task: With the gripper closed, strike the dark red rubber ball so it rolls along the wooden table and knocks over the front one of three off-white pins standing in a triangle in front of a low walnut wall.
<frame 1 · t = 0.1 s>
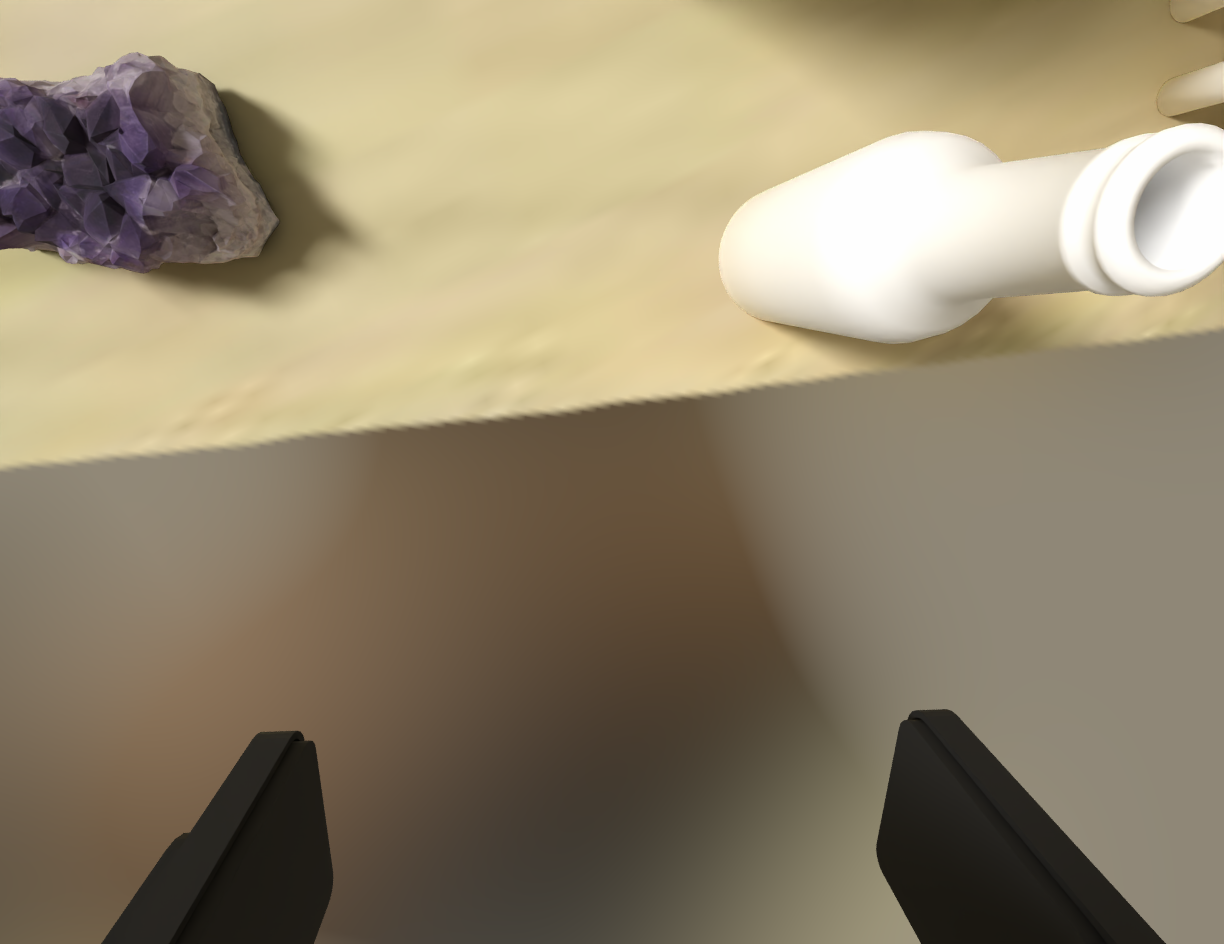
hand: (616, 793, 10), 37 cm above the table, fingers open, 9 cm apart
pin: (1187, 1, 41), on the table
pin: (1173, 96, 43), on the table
geode: (119, 186, 40), on the table
alcohol: (775, 256, 44), on the table
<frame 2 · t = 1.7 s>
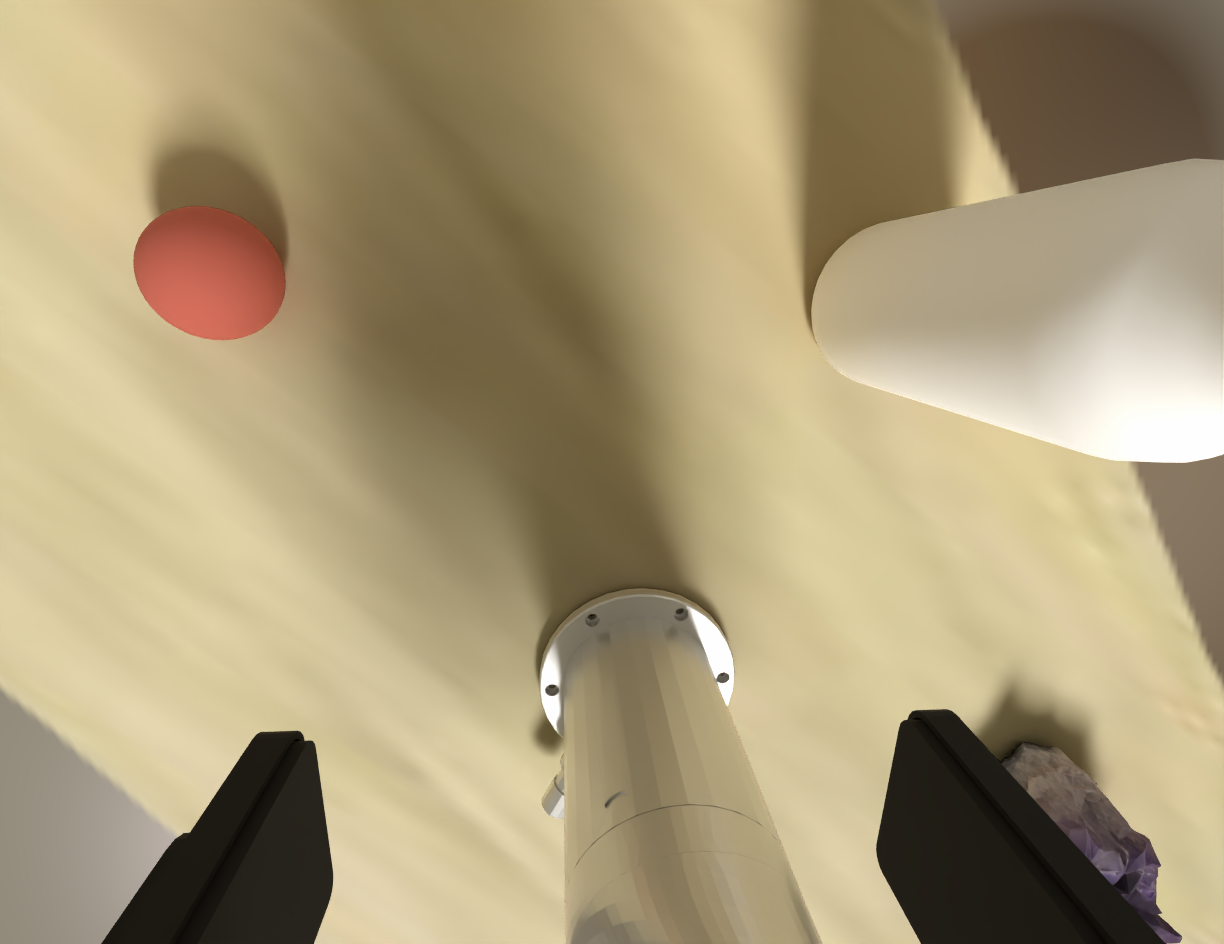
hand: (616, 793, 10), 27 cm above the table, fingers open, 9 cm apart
ball: (213, 275, 29), on the table
geode: (1026, 837, 48), on the table
alcohol: (879, 305, 35), on the table
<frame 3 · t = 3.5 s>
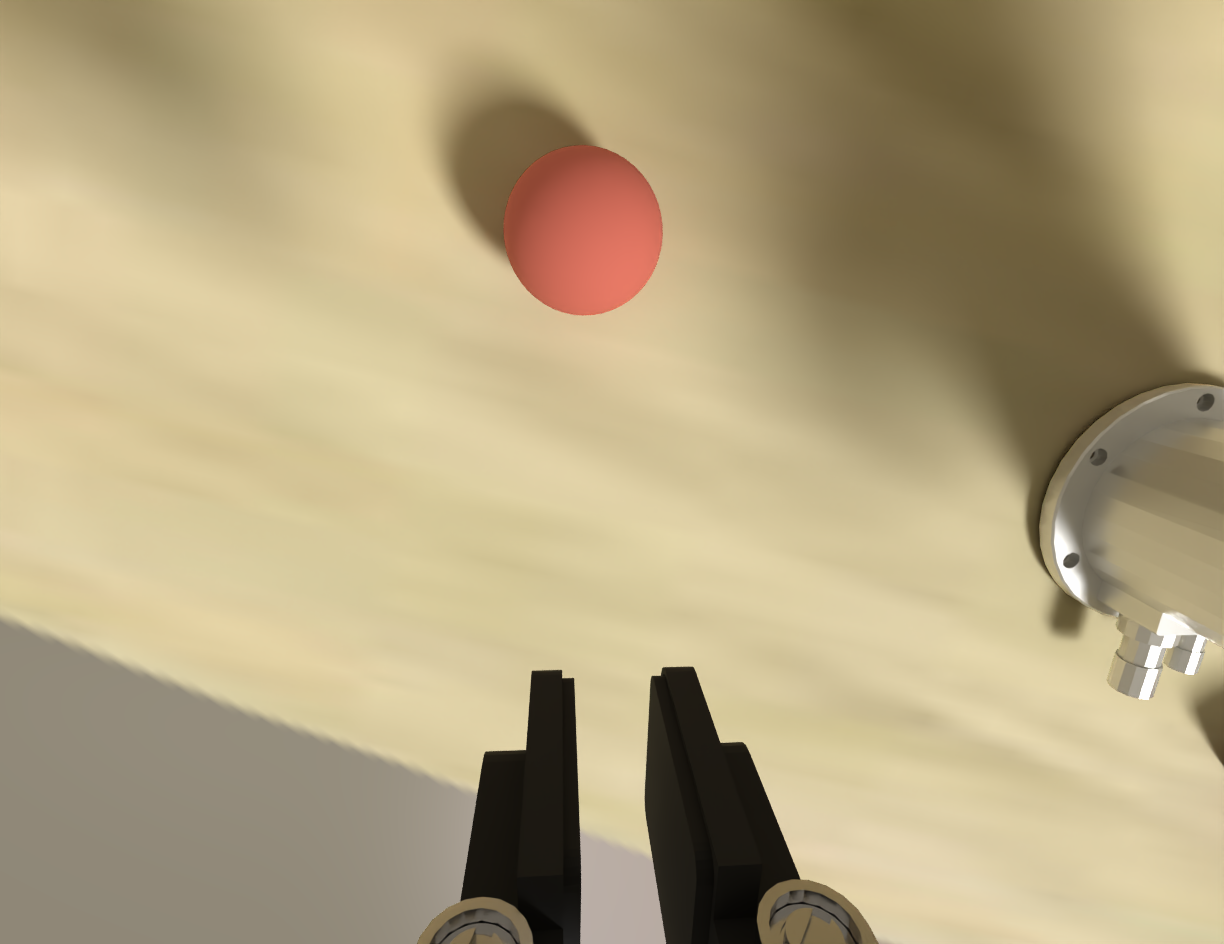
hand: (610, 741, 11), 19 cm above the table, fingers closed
ball: (583, 234, 24), on the table
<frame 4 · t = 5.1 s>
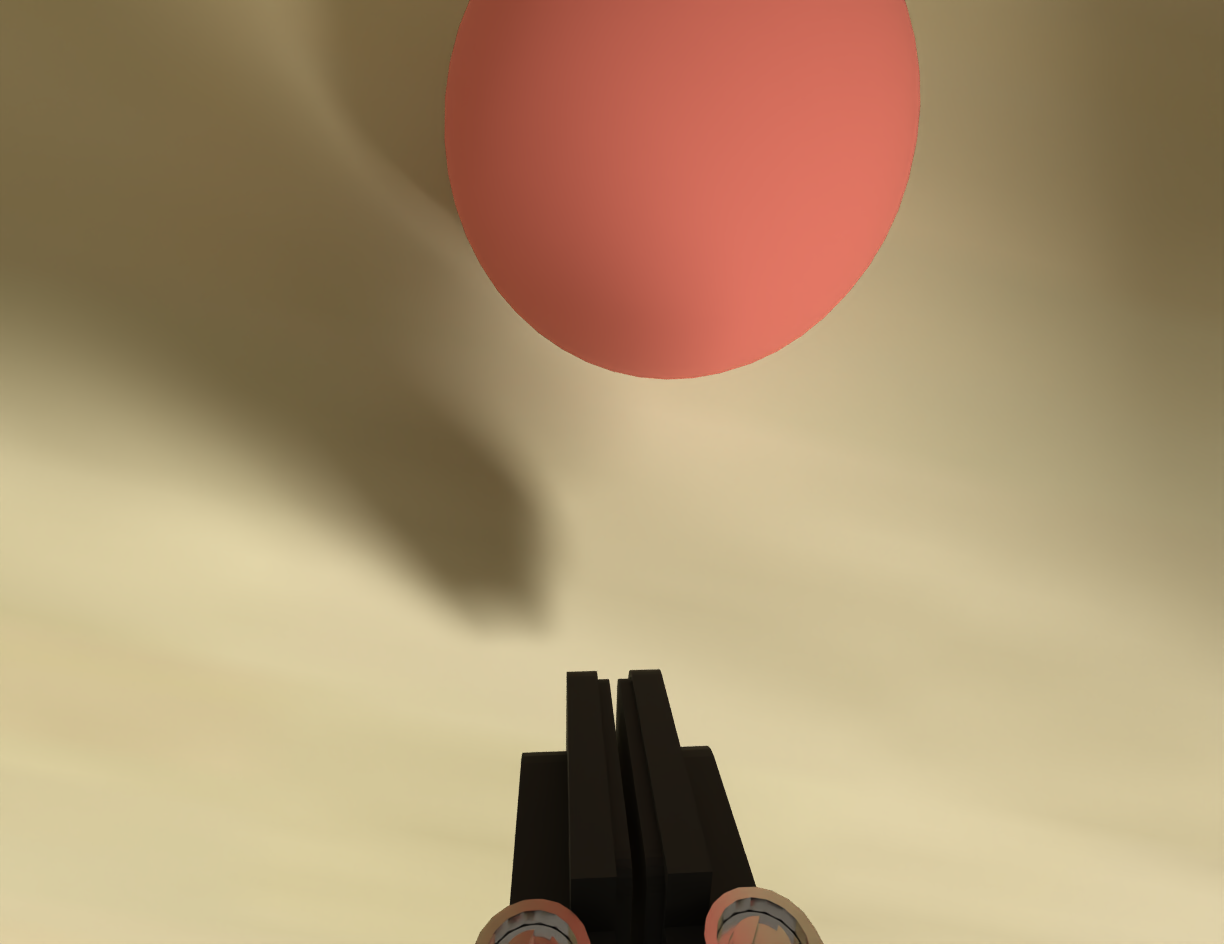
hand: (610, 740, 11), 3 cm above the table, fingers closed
ball: (673, 155, 8), on the table
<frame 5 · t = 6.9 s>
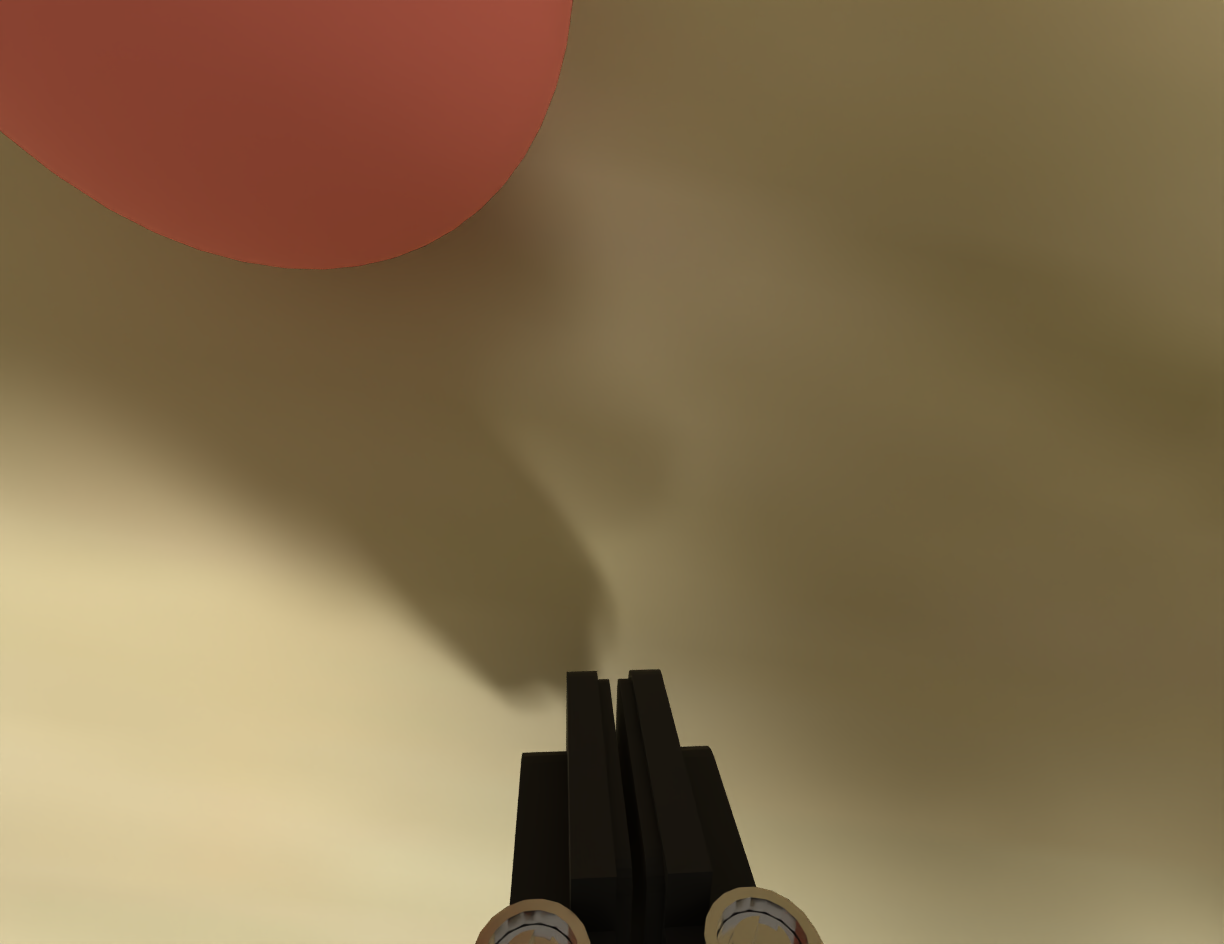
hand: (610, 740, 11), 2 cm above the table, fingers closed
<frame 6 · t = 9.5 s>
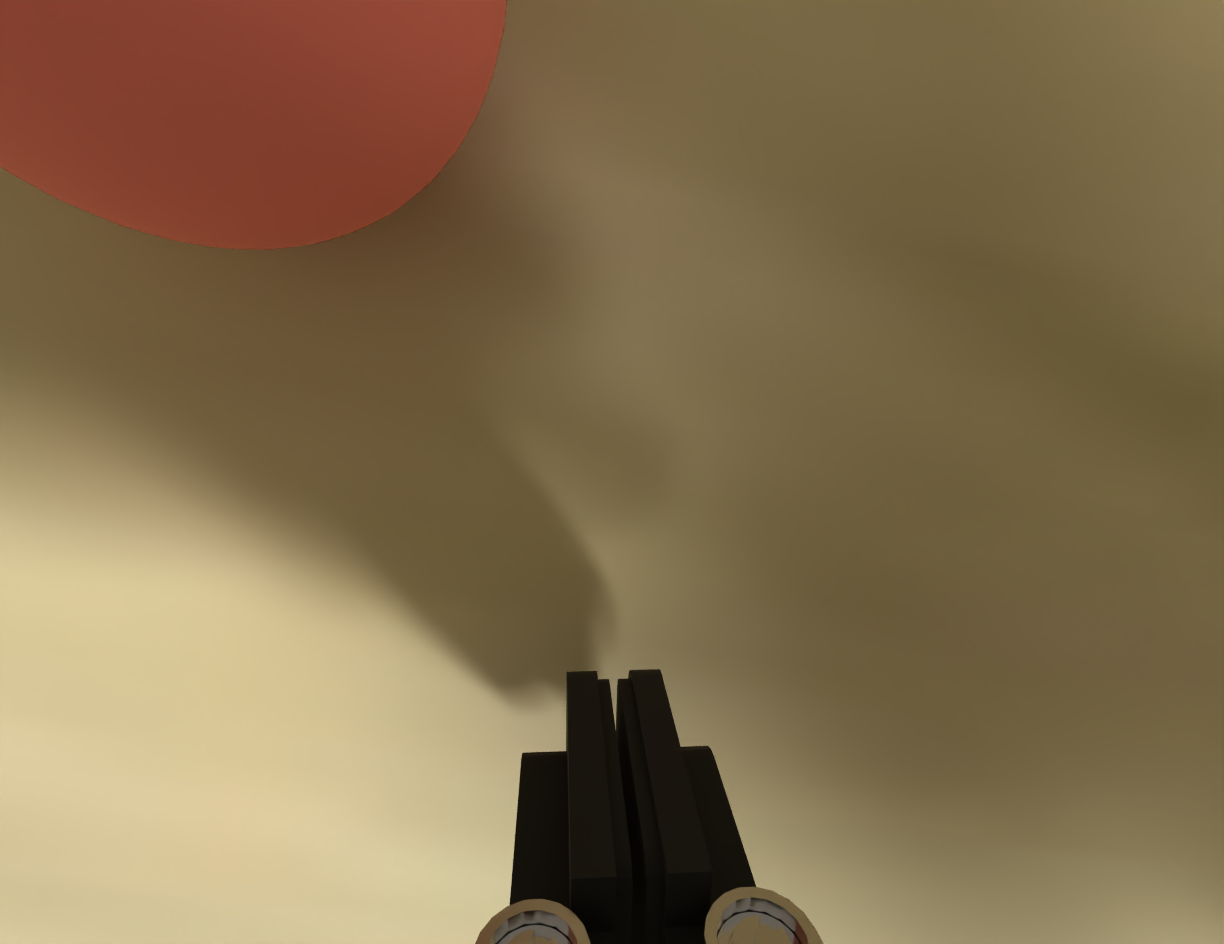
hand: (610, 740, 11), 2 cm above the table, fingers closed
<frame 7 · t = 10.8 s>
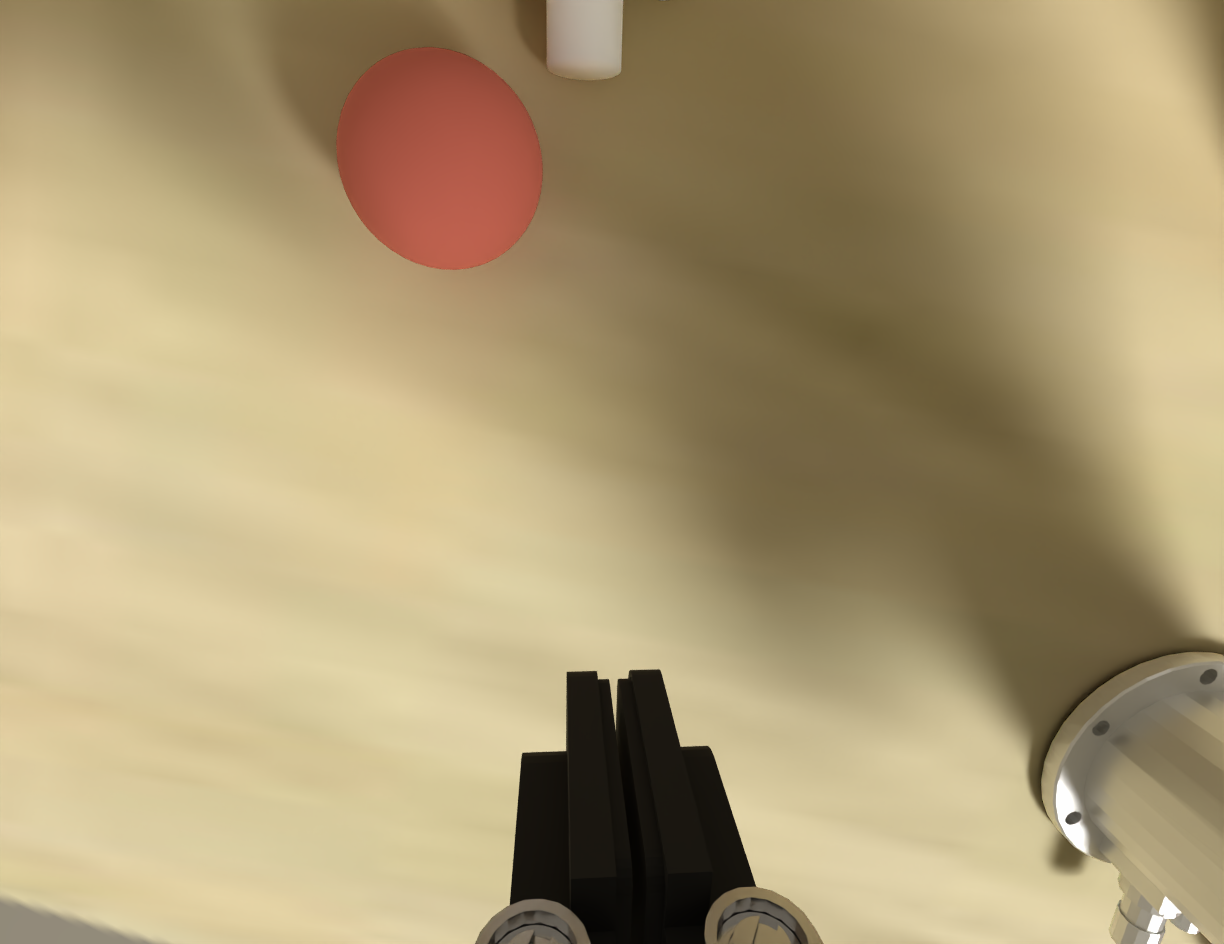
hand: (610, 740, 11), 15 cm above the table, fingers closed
ball: (443, 166, 19), on the table
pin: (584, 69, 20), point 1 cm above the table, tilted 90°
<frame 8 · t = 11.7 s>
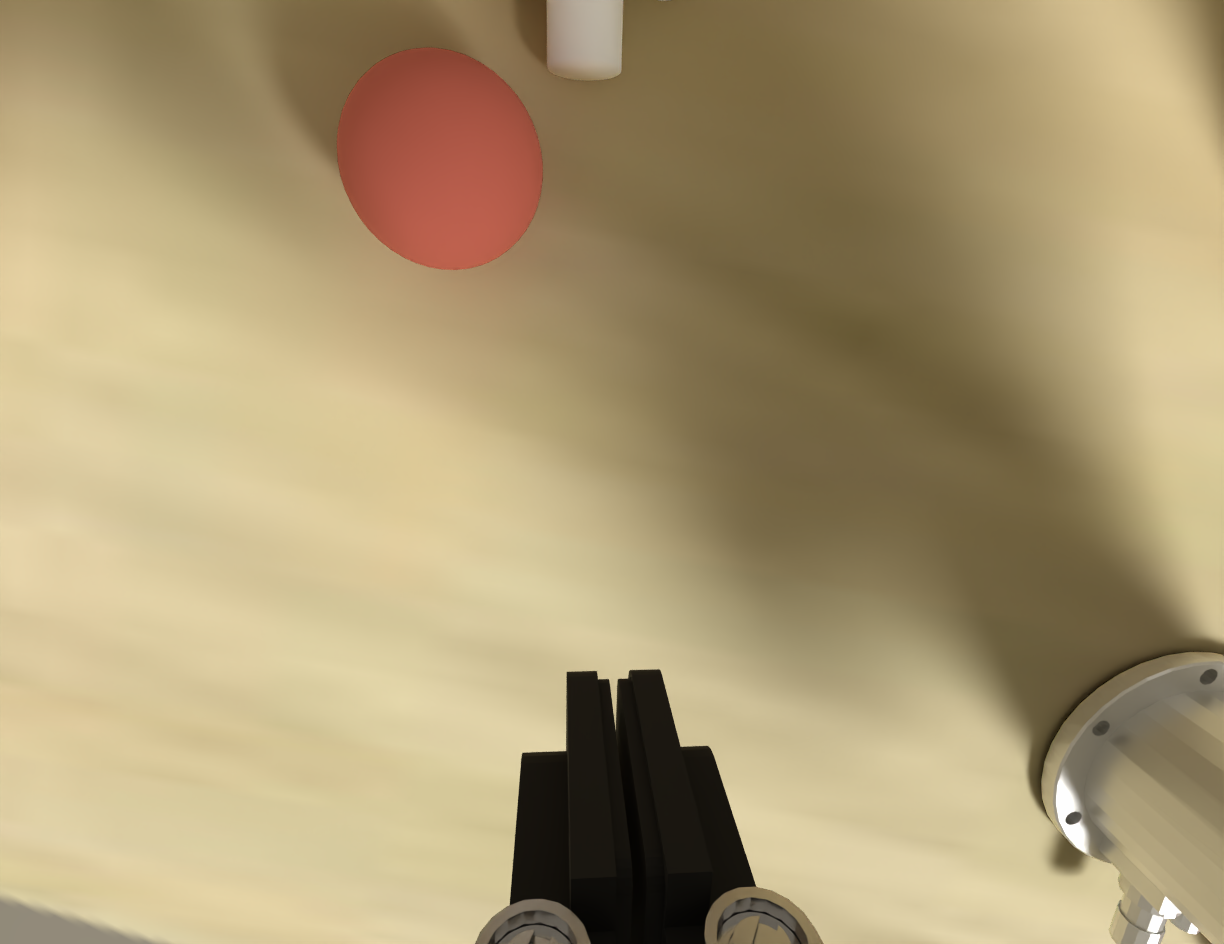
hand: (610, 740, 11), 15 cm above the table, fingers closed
ball: (444, 166, 19), on the table
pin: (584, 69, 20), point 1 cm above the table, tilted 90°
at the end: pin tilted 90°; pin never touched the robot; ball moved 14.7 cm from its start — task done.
